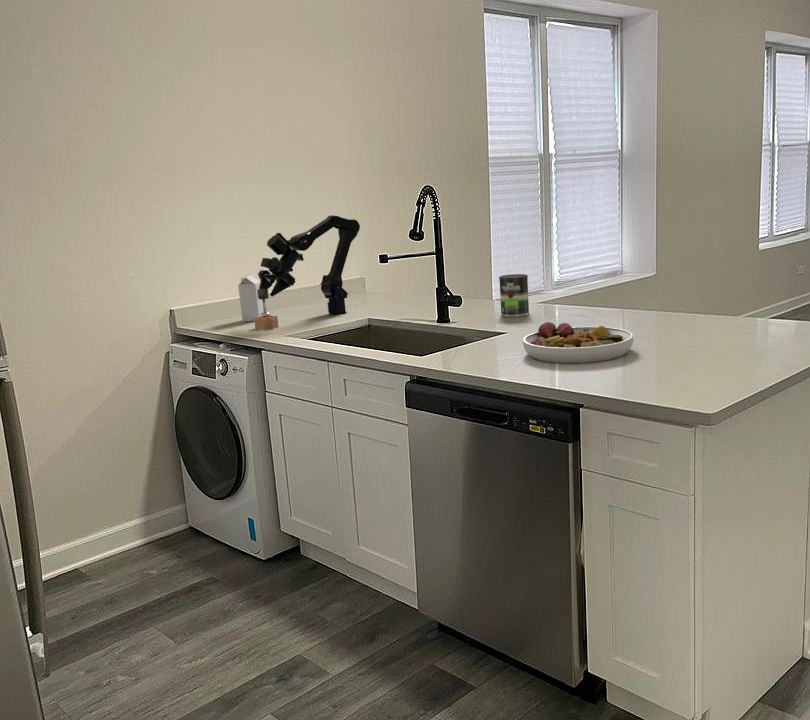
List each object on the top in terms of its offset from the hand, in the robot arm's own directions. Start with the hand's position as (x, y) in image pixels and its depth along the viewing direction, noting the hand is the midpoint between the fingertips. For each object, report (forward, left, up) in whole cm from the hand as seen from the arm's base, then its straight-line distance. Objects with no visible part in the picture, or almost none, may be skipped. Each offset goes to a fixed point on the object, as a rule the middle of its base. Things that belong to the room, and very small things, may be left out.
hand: (264, 295), depth 319 cm
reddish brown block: (0, +2, -12) cm, 12 cm away
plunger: (+1, 0, -7) cm, 7 cm away
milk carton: (+6, -23, -12) cm, 26 cm away
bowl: (-83, +104, -13) cm, 134 cm away
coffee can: (-88, +31, -13) cm, 95 cm away
